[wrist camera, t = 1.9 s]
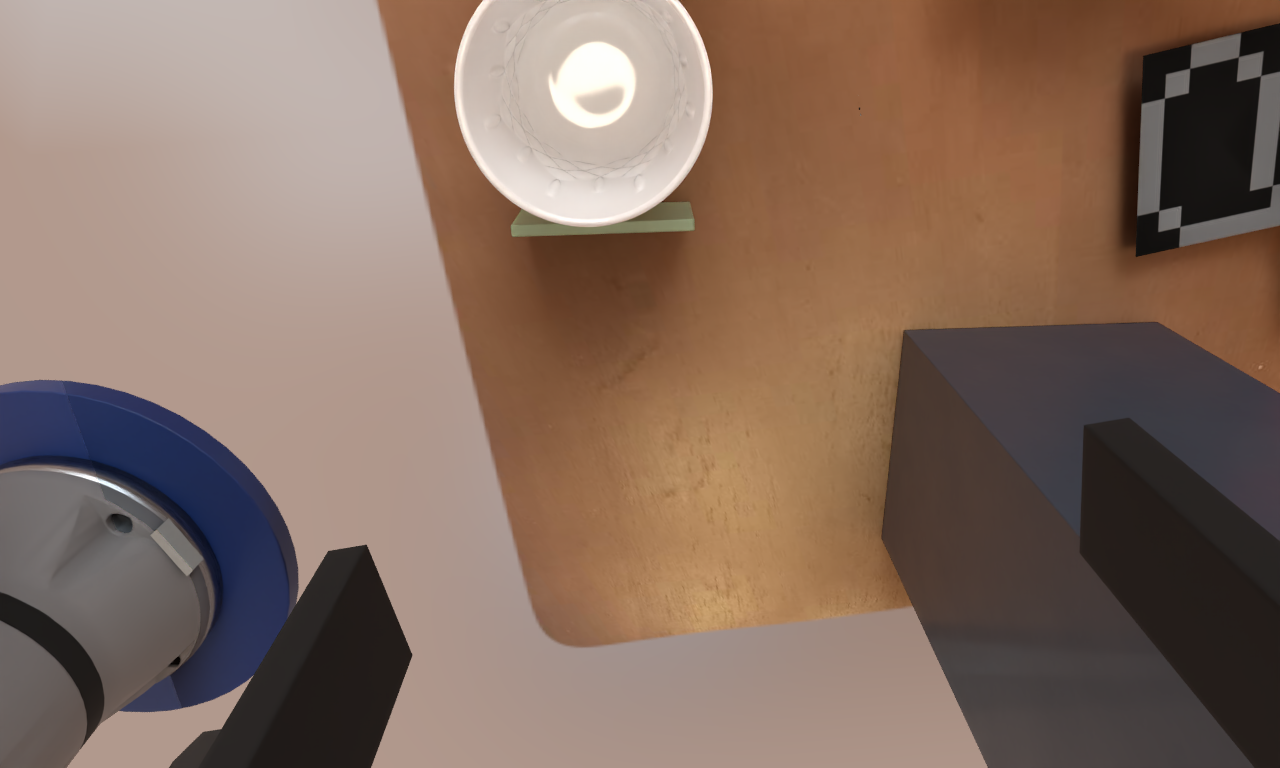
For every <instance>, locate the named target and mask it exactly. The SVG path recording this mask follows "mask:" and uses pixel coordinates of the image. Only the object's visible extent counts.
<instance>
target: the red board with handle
mask: <svg viewBox="0 0 1280 768" xmlns="http://www.w3.org/2000/svg"><path fill="white" fill-rule="evenodd" d="M1279 225H1280V23H1279V24H1275V25H1271V26H1267V27H1263V28H1258V29H1254V30H1250V31H1246V32H1242V33H1237V34H1233V35H1229V36H1225V37H1221V38H1216V39H1212V40H1208V41H1204V42H1200V43H1196V44H1191V45H1187V46H1183V47H1179V48H1175V49H1170V50H1166V51H1162V52H1158V53H1154V54H1149V55H1145V56H1143V79H1142V105H1141V131H1140V157H1139V183H1138V209H1137V235H1136V257H1137V256H1142V255H1147V254H1151V253H1156V252H1160V251H1165V250H1169V249H1174V248H1179V247H1183V246H1188V245H1192V244H1197V243H1202V242H1206V241H1211V240H1215V239H1220V238H1224V237H1229V236H1234V235H1238V234H1243V233H1247V232H1252V231H1257V230H1261V229H1266V228H1270V227H1275V226H1279Z"/></svg>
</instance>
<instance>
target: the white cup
mask: <svg viewBox="0 0 1280 768" xmlns="http://www.w3.org/2000/svg"><path fill="white" fill-rule="evenodd" d="M454 96H455V106H456V112H457V117H458V121H459V125H460V129H461V132H462V135H463V137H464V140H465V143H466V145H467V147H468V149H469V151H470V153H471V155H472V157H473V159H474V160H475V162H476V164H477V165H478V167H479V168H480V170H481V171H482V173H483V174H484V175H485V176H486V178H487V179H488V180H489V181H490V182H491V184H492V185H493V186H494V187H495V188H496V189H497V190H498V191H499V192H500V193H501V194H503V195H504V196H505V197H506V198H507V199H509V200H510V201H511V202H513V203H514V204H515V205H517V206H518V207H520V208H522V209H523V210H525V211H527V212H529V213H531V214H533V215H535V216H537V217H539V218H542V219H545V220H547V221H550V222H554V223H558V224H562V225H567V226H575V227H599V226H607V225H612V224H617V223H620V222H624V221H627V220H629V219H632V218H634V217H637V216H639V215H641V214H643V213H645V212H647V211H648V210H650V209H652V208H653V207H655V206H656V205H658V204H659V203H660V202H662V201H663V200H664V199H665V198H667V197H668V196H669V195H670V194H671V193H672V192H673V191H674V190H675V189H676V188H677V187H678V186H679V185H680V184H681V182H682V181H683V180H684V179H685V177H686V176H687V174H688V173H689V172H690V170H691V169H692V167H693V165H694V164H695V162H696V160H697V158H698V156H699V154H700V152H701V149H702V147H703V144H704V142H705V139H706V136H707V132H708V128H709V124H710V119H711V112H712V101H713V87H712V76H711V69H710V64H709V60H708V56H707V52H706V49H705V46H704V43H703V41H702V38H701V36H700V33H699V31H698V29H697V27H696V25H695V24H694V22H693V20H692V18H691V17H690V15H689V14H688V12H687V11H686V9H685V8H684V7H683V5H682V4H681V3H680V1H679V0H483V1H482V3H481V4H480V5H479V7H478V8H477V10H476V11H475V13H474V15H473V16H472V18H471V20H470V22H469V24H468V26H467V28H466V30H465V33H464V35H463V38H462V41H461V44H460V47H459V51H458V55H457V60H456V66H455V76H454Z"/></svg>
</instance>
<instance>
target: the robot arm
mask: <svg viewBox="0 0 1280 768" xmlns="http://www.w3.org/2000/svg"><path fill="white" fill-rule="evenodd" d="M1079 553H1080V554H1081V556H1082V557H1083V558H1084V559H1085V560H1086V562H1087V563H1088V564H1089V565H1090V567H1091V568H1092V569H1093V570H1094V571H1095V573H1096V574H1097V575H1098V576H1099V578H1100V579H1101V580H1102V581H1103V583H1104V584H1105V585H1106V586H1107V587H1108V589H1109V590H1110V591H1111V592H1112V594H1113V595H1114V596H1115V597H1116V598H1117V600H1118V601H1119V602H1120V603H1121V605H1122V606H1123V607H1124V608H1125V610H1126V611H1127V612H1128V613H1129V614H1130V616H1131V617H1132V618H1133V619H1134V621H1135V622H1136V623H1137V624H1138V625H1139V627H1140V628H1141V629H1142V630H1143V632H1144V633H1145V634H1146V635H1147V637H1148V638H1149V639H1150V640H1151V641H1152V643H1153V644H1154V645H1155V646H1156V648H1157V649H1158V650H1159V651H1160V652H1161V654H1162V655H1163V656H1164V657H1165V659H1166V660H1167V661H1168V662H1169V664H1170V665H1171V666H1172V667H1173V668H1174V670H1175V671H1176V672H1177V673H1178V675H1179V676H1180V677H1181V678H1182V679H1183V681H1184V682H1185V683H1186V684H1187V686H1188V687H1189V688H1190V689H1191V690H1192V692H1193V693H1194V694H1195V695H1196V697H1197V698H1198V699H1199V700H1200V702H1201V703H1202V704H1203V705H1204V706H1205V708H1206V709H1207V710H1208V711H1209V713H1210V714H1211V715H1212V716H1213V717H1214V719H1215V720H1216V721H1217V722H1218V724H1219V725H1220V726H1221V727H1222V729H1223V730H1224V731H1225V732H1226V733H1227V735H1228V736H1229V737H1230V738H1231V740H1232V741H1233V742H1234V743H1235V744H1236V746H1237V747H1238V748H1239V749H1240V751H1241V752H1242V753H1243V754H1244V756H1245V757H1246V758H1247V759H1248V760H1249V762H1250V763H1251V764H1252V765H1253V767H1254V768H1280V541H1279V540H1278V539H1277V538H1276V537H1274V536H1273V535H1272V534H1271V533H1269V532H1268V531H1267V530H1266V529H1265V528H1263V527H1262V526H1261V525H1260V524H1258V523H1257V522H1256V521H1255V520H1254V519H1252V518H1251V517H1250V516H1249V515H1247V514H1246V513H1245V512H1244V511H1243V510H1241V509H1240V508H1239V507H1238V506H1236V505H1235V504H1234V503H1233V502H1232V501H1230V500H1229V499H1228V498H1227V497H1226V496H1224V495H1223V494H1222V493H1221V492H1219V491H1218V490H1217V489H1216V488H1215V487H1213V486H1212V485H1211V484H1210V483H1208V482H1207V481H1206V480H1205V479H1204V478H1202V477H1201V476H1200V475H1199V474H1197V473H1196V472H1195V471H1194V470H1193V469H1191V468H1190V467H1189V466H1188V465H1186V464H1185V463H1184V462H1183V461H1182V460H1180V459H1179V458H1178V457H1177V456H1176V455H1174V454H1173V453H1172V452H1171V451H1169V450H1168V449H1167V448H1166V447H1165V446H1163V445H1162V444H1161V443H1160V442H1158V441H1157V440H1156V439H1155V438H1154V437H1152V436H1151V435H1150V434H1149V433H1147V432H1146V431H1145V430H1144V429H1143V428H1141V427H1140V426H1139V425H1138V424H1137V423H1135V422H1134V421H1133V420H1132V419H1130V418H1123V419H1117V420H1111V421H1105V422H1099V423H1093V424H1087V425H1084V430H1083V460H1082V490H1081V521H1080V551H1079ZM222 600H223V582H222V575H221V571H220V567H219V564H218V561H217V558H216V556H215V553H214V551H213V549H212V547H211V545H210V543H209V542H208V540H207V539H206V537H205V535H204V534H203V532H202V531H201V530H200V528H199V527H198V526H197V524H196V523H195V522H194V521H193V520H192V519H191V518H190V516H189V515H188V514H187V513H186V512H185V511H184V510H183V509H182V508H181V507H180V506H178V505H177V504H176V503H175V502H174V501H173V500H171V499H170V498H169V497H168V496H166V495H165V494H164V493H162V492H161V491H159V490H158V489H156V488H155V487H153V486H152V485H150V484H148V483H147V482H145V481H143V480H141V479H139V478H137V477H135V476H133V475H131V474H129V473H127V472H125V471H122V470H120V469H118V468H115V467H112V466H109V465H106V464H103V463H99V462H96V461H92V460H88V459H82V458H76V457H68V456H33V457H27V458H21V459H17V460H13V461H10V462H7V463H4V464H2V465H0V768H67V766H68V765H69V764H70V762H71V761H72V760H73V758H74V757H75V756H76V754H77V753H78V752H79V750H80V749H81V748H82V746H83V745H84V744H85V742H86V741H87V740H88V738H89V737H90V736H91V734H92V733H93V732H94V731H95V729H96V728H97V727H98V726H99V725H100V724H101V723H102V722H103V721H105V720H106V719H108V718H109V717H111V716H112V715H113V714H115V713H116V712H118V711H119V710H121V709H122V708H123V707H125V706H126V705H128V704H129V703H131V702H132V701H133V700H135V699H136V698H138V697H139V696H140V695H142V694H143V693H144V692H146V691H147V690H148V689H149V688H151V687H152V686H153V685H154V684H156V683H158V682H160V681H161V680H163V679H164V678H166V677H168V676H169V675H170V674H172V673H173V672H174V671H176V670H177V669H178V668H179V667H181V666H182V665H183V664H184V663H185V662H186V661H187V660H188V659H189V658H190V657H192V656H193V654H194V653H195V652H196V651H197V649H198V648H199V647H200V645H201V644H202V643H203V641H204V640H205V638H206V637H207V636H208V634H209V633H210V631H211V630H212V628H213V626H214V625H215V623H216V621H217V619H218V616H219V614H220V610H221V606H222ZM411 658H412V653H411V651H410V648H409V646H408V643H407V641H406V638H405V636H404V634H403V631H402V629H401V626H400V624H399V622H398V619H397V617H396V614H395V612H394V610H393V607H392V605H391V602H390V600H389V598H388V595H387V593H386V590H385V588H384V585H383V583H382V581H381V578H380V576H379V573H378V571H377V568H376V566H375V564H374V561H373V559H372V556H371V554H370V552H369V549H368V547H367V545H362V546H356V547H350V548H344V549H338V550H332V551H328V552H327V554H326V556H325V557H324V559H323V561H322V563H321V564H320V566H319V567H318V569H317V571H316V572H315V574H314V576H313V577H312V579H311V581H310V582H309V584H308V586H307V587H306V589H305V591H304V592H303V594H302V596H301V597H300V599H299V601H298V602H297V604H296V606H295V607H294V609H293V611H292V612H291V614H290V616H289V617H288V619H287V621H286V622H285V624H284V626H283V627H282V629H281V631H280V632H279V634H278V636H277V637H276V639H275V641H274V642H273V644H272V646H271V647H270V649H269V651H268V652H267V654H266V656H265V657H264V659H263V661H262V662H261V664H260V666H259V667H258V669H257V671H256V672H255V674H254V676H253V678H252V679H251V681H250V682H249V684H248V686H247V688H246V689H245V691H244V693H243V694H242V696H241V698H240V699H239V701H238V702H237V704H236V706H235V708H234V709H233V711H232V713H231V714H230V716H229V717H228V719H227V721H226V722H225V724H224V726H223V728H222V729H220V730H213V731H207V732H203V733H202V734H201V735H200V736H199V737H198V738H197V739H196V740H195V741H194V742H192V744H190V745H189V747H187V748H186V749H185V751H183V752H182V753H181V754H180V755H179V756H178V757H177V758H176V759H175V760H174V761H173V762H172V764H171V766H170V767H169V768H371V766H372V763H373V761H374V758H375V755H376V752H377V750H378V747H379V745H380V742H381V739H382V736H383V733H384V731H385V728H386V725H387V723H388V720H389V717H390V715H391V712H392V709H393V706H394V704H395V701H396V698H397V696H398V693H399V690H400V687H401V685H402V682H403V679H404V677H405V674H406V671H407V669H408V666H409V663H410V660H411Z"/></svg>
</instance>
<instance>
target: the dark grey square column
mask: <svg viewBox="0 0 1280 768" xmlns="http://www.w3.org/2000/svg"><path fill="white" fill-rule="evenodd" d="M1123 418H1130V419H1132V420H1133V421H1134V422H1135V423H1137V424H1138V425H1139V426H1140V427H1141V428H1143V429H1144V430H1145V431H1146V432H1147V433H1149V434H1150V435H1151V436H1152V437H1154V438H1155V439H1156V440H1157V441H1158V442H1160V443H1161V444H1162V445H1163V446H1165V447H1166V448H1167V449H1168V450H1169V451H1171V452H1172V453H1173V454H1174V455H1176V456H1177V457H1178V458H1179V459H1180V460H1182V461H1183V462H1184V463H1185V464H1186V465H1188V466H1189V467H1190V468H1191V469H1193V470H1194V471H1195V472H1196V473H1197V474H1199V475H1200V476H1201V477H1202V478H1204V479H1205V480H1206V481H1207V482H1208V483H1210V484H1211V485H1212V486H1213V487H1215V488H1216V489H1217V490H1218V491H1219V492H1221V493H1222V494H1223V495H1224V496H1226V497H1227V498H1228V499H1229V500H1230V501H1232V502H1233V503H1234V504H1235V505H1236V506H1238V507H1239V508H1240V509H1241V510H1243V511H1244V512H1245V513H1246V514H1247V515H1249V516H1250V517H1251V518H1252V519H1254V520H1255V521H1256V522H1257V523H1258V524H1260V525H1261V526H1262V527H1263V528H1265V529H1266V530H1267V531H1268V532H1269V533H1271V534H1272V535H1273V536H1274V537H1276V538H1277V539H1278V540H1279V541H1280V393H1278V392H1277V391H1275V390H1273V389H1271V388H1270V387H1268V386H1266V385H1265V384H1263V383H1261V382H1259V381H1258V380H1256V379H1254V378H1253V377H1251V376H1249V375H1247V374H1246V373H1244V372H1242V371H1241V370H1239V369H1237V368H1235V367H1234V366H1232V365H1230V364H1229V363H1227V362H1225V361H1223V360H1222V359H1220V358H1218V357H1216V356H1215V355H1213V354H1211V353H1210V352H1208V351H1206V350H1204V349H1203V348H1201V347H1199V346H1198V345H1196V344H1194V343H1192V342H1191V341H1189V340H1187V339H1186V338H1184V337H1182V336H1180V335H1179V334H1177V333H1175V332H1174V331H1172V330H1170V329H1168V328H1167V327H1165V326H1163V325H1161V324H1160V323H1158V322H1148V323H1117V324H1085V325H1054V326H1022V327H991V328H959V329H928V330H904V337H903V346H902V355H901V365H900V374H899V383H898V392H897V401H896V410H895V419H894V429H893V438H892V447H891V456H890V465H889V474H888V484H887V493H886V502H885V511H884V520H883V529H882V540H883V543H884V545H885V547H886V549H887V551H888V553H889V555H890V558H891V560H892V562H893V564H894V566H895V568H896V570H897V573H898V575H899V577H900V579H901V581H902V583H903V586H904V588H905V590H906V592H907V594H908V596H909V598H910V601H911V603H912V605H913V607H914V609H915V611H916V614H917V616H918V618H919V620H920V622H921V624H922V626H923V629H924V630H925V633H926V635H927V637H928V639H929V642H930V644H931V646H932V648H933V650H934V652H935V654H936V657H937V659H938V661H939V663H940V665H941V667H942V670H943V672H944V674H945V676H946V678H947V680H948V682H949V684H950V687H951V689H952V691H953V693H954V695H955V698H956V700H957V702H958V704H959V706H960V708H961V710H962V712H963V715H964V717H965V719H966V721H967V723H968V726H969V728H970V730H971V732H972V734H973V736H974V738H975V740H976V743H977V745H978V747H979V749H980V751H981V753H982V755H983V758H984V760H985V762H986V764H987V766H988V768H1254V767H1253V765H1252V764H1251V763H1250V762H1249V760H1248V759H1247V758H1246V757H1245V756H1244V754H1243V753H1242V752H1241V751H1240V749H1239V748H1238V747H1237V746H1236V744H1235V743H1234V742H1233V741H1232V740H1231V738H1230V737H1229V736H1228V735H1227V733H1226V732H1225V731H1224V730H1223V729H1222V727H1221V726H1220V725H1219V724H1218V722H1217V721H1216V720H1215V719H1214V717H1213V716H1212V715H1211V714H1210V713H1209V711H1208V710H1207V709H1206V708H1205V706H1204V705H1203V704H1202V703H1201V702H1200V700H1199V699H1198V698H1197V697H1196V695H1195V694H1194V693H1193V692H1192V690H1191V689H1190V688H1189V687H1188V686H1187V684H1186V683H1185V682H1184V681H1183V679H1182V678H1181V677H1180V676H1179V675H1178V673H1177V672H1176V671H1175V670H1174V668H1173V667H1172V666H1171V665H1170V664H1169V662H1168V661H1167V660H1166V659H1165V657H1164V656H1163V655H1162V654H1161V652H1160V651H1159V650H1158V649H1157V648H1156V646H1155V645H1154V644H1153V643H1152V641H1151V640H1150V639H1149V638H1148V637H1147V635H1146V634H1145V633H1144V632H1143V630H1142V629H1141V628H1140V627H1139V625H1138V624H1137V623H1136V622H1135V621H1134V619H1133V618H1132V617H1131V616H1130V614H1129V613H1128V612H1127V611H1126V610H1125V608H1124V607H1123V606H1122V605H1121V603H1120V602H1119V601H1118V600H1117V598H1116V597H1115V596H1114V595H1113V594H1112V592H1111V591H1110V590H1109V589H1108V587H1107V586H1106V585H1105V584H1104V583H1103V581H1102V580H1101V579H1100V578H1099V576H1098V575H1097V574H1096V573H1095V571H1094V570H1093V569H1092V568H1091V567H1090V565H1089V564H1088V563H1087V562H1086V560H1085V559H1084V558H1083V557H1082V556H1081V554H1080V553H1079V551H1080V521H1081V490H1082V460H1083V430H1084V425H1087V424H1093V423H1099V422H1105V421H1111V420H1117V419H1123Z"/></svg>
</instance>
